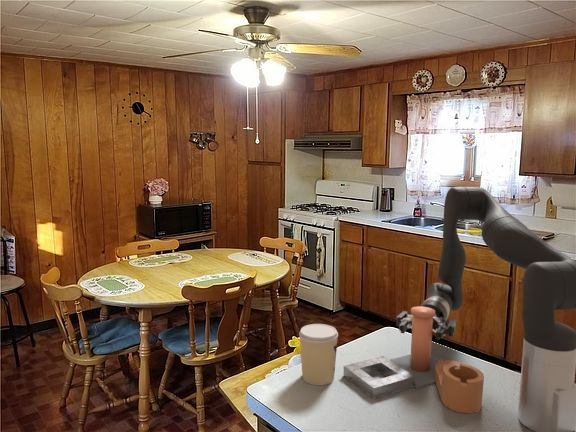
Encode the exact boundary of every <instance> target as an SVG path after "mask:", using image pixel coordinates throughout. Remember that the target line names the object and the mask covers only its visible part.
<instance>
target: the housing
mask: <svg viewBox="0 0 576 432" xmlns="http://www.w3.org/2000/svg"><path fill="white" fill-rule="evenodd" d="M390 360H391V359H388V358H387V357H385V356H384V355H382V356H378V357H373V358H370V359H367V360H366V359H365V360H362V361H358V362H355V363H350V364H349V363H348V364H346V365H343V377H345V378H348V379H347V380H349V381H350V382H351V383H352V384H354V385H355V386H356V387H358V388H359V389H360V390H362V391H363V392H364V393H365V394H367V395H368V396H369V397H370V398H372V399H376V398H381V397H384V396H387V395H391V394H394V393H398V392H401V391H404V390H407V389H410V388H414V387H415V376H414V375H413V374H411V373H409V372H408V371H406V370H405V369H403V368H401V367H400V366H398V365H396V364H395V363H393V362H392V361H390ZM378 373H379V374H380V373H381V374H383V375H385V376H386V377H385V376H384V377H382V378H377V379H375V378H374V377H373V376H371V375H374V374H378Z"/></svg>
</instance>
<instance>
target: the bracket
mask: <svg viewBox="0 0 576 432" xmlns="http://www.w3.org/2000/svg"><path fill="white" fill-rule="evenodd" d="M438 361H439V362H437V363H436V364H435V380H436V383H435V384H436V387H437V390H438V393H439V397H440V401H441V402H442V404H443V405H444V406H445V407H446V408H449V409H450V410H451V411H454V412H458V413H464V414H474V413H477V412H479V411H480V410H481V409H482V405H483V395H484V394H483V393H484V384H485V383H484V382H485V375H484V373H483V372H482V371H481V370H480V369H479V368H477V367H476V366H472V365H469V364H466V363H463V362H460V361H457V360H451V359H446V360H444V359H443V360H438Z"/></svg>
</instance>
